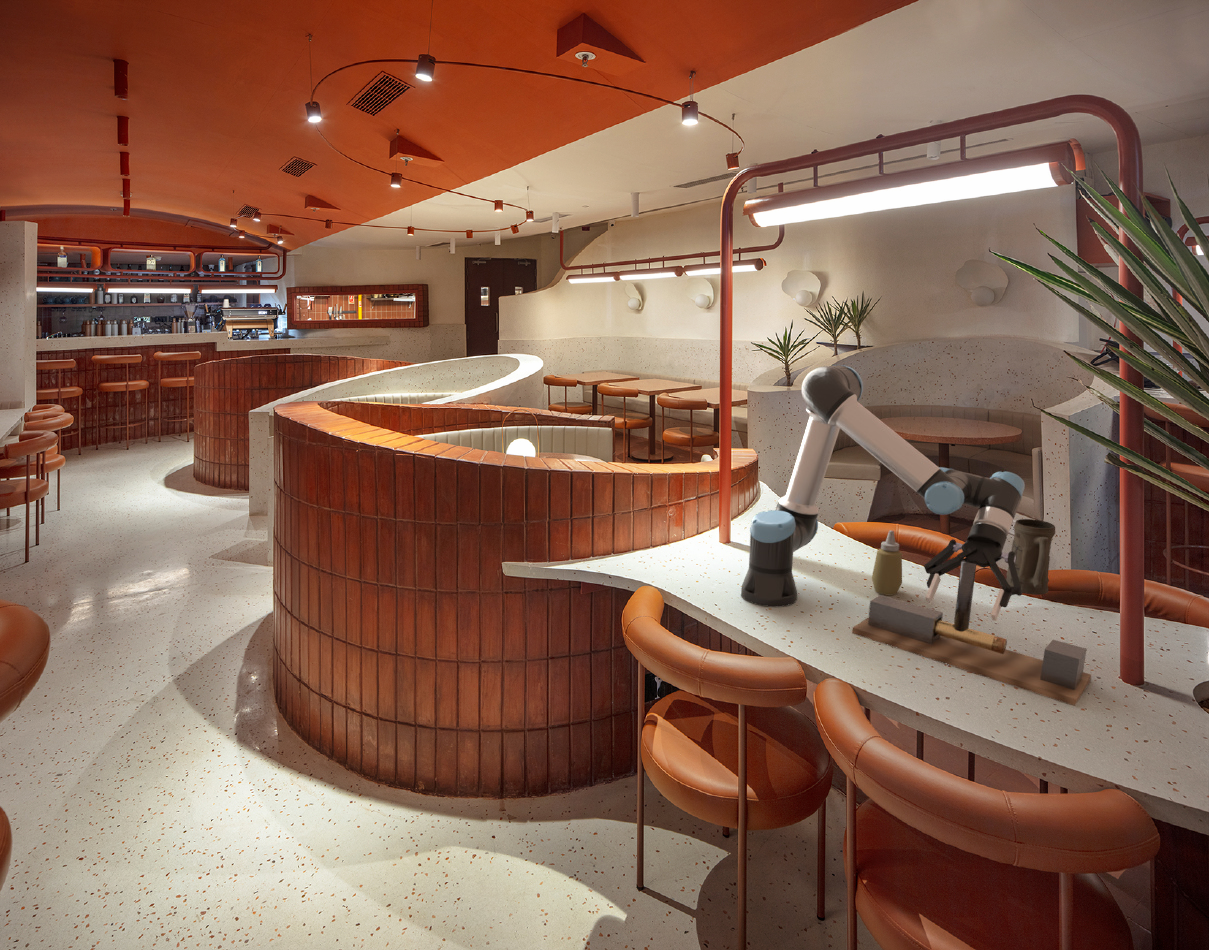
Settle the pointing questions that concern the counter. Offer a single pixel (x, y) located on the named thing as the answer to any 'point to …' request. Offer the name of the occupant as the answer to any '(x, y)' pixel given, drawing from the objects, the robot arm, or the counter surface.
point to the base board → (980, 662)
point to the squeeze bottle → (888, 567)
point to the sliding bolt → (968, 616)
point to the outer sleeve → (904, 618)
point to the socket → (1063, 664)
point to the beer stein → (1032, 555)
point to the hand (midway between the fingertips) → (959, 608)
